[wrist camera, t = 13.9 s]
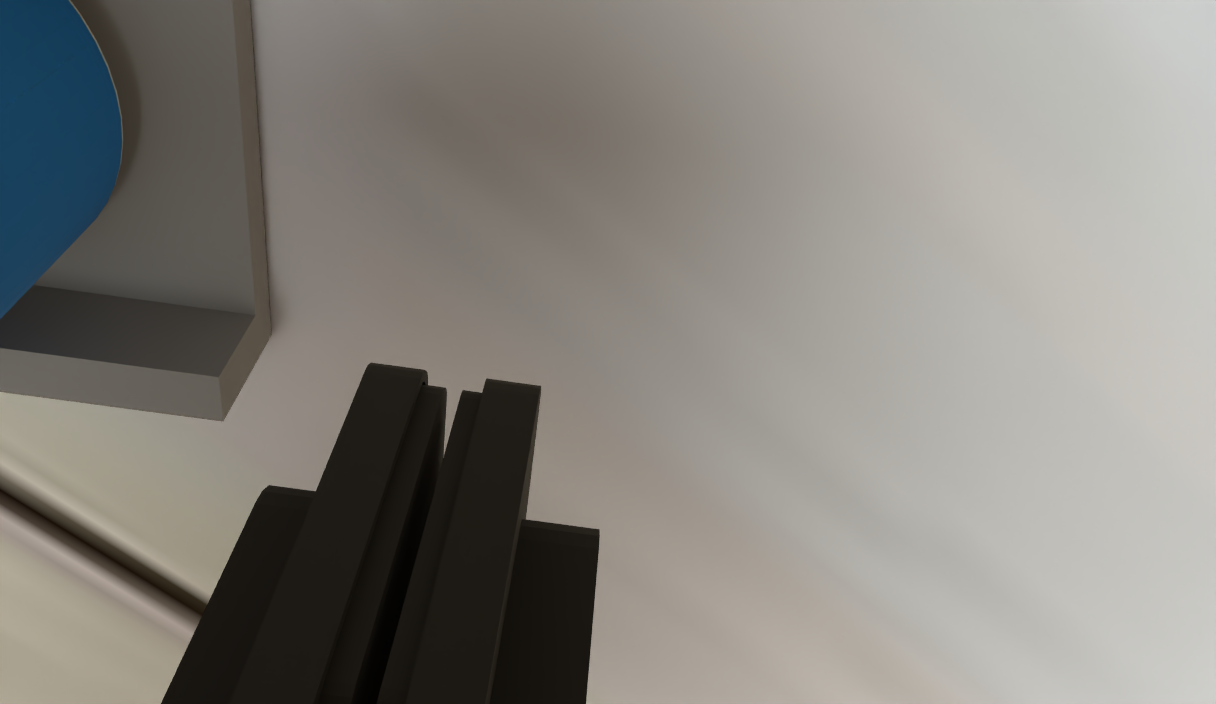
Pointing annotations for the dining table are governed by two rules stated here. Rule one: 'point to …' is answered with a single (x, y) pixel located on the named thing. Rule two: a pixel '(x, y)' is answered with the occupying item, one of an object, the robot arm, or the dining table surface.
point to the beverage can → (51, 137)
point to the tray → (160, 228)
